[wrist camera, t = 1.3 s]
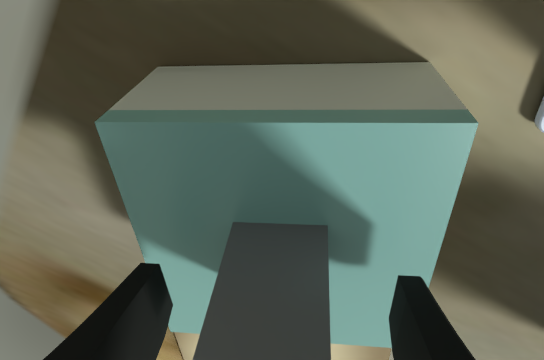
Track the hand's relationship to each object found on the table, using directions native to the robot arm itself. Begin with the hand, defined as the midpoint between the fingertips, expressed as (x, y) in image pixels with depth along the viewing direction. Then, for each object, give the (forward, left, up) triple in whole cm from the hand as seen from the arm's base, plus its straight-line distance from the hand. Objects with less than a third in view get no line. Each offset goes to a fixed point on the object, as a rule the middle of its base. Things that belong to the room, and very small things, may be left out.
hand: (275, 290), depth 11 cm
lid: (0, 0, -3) cm, 3 cm away
